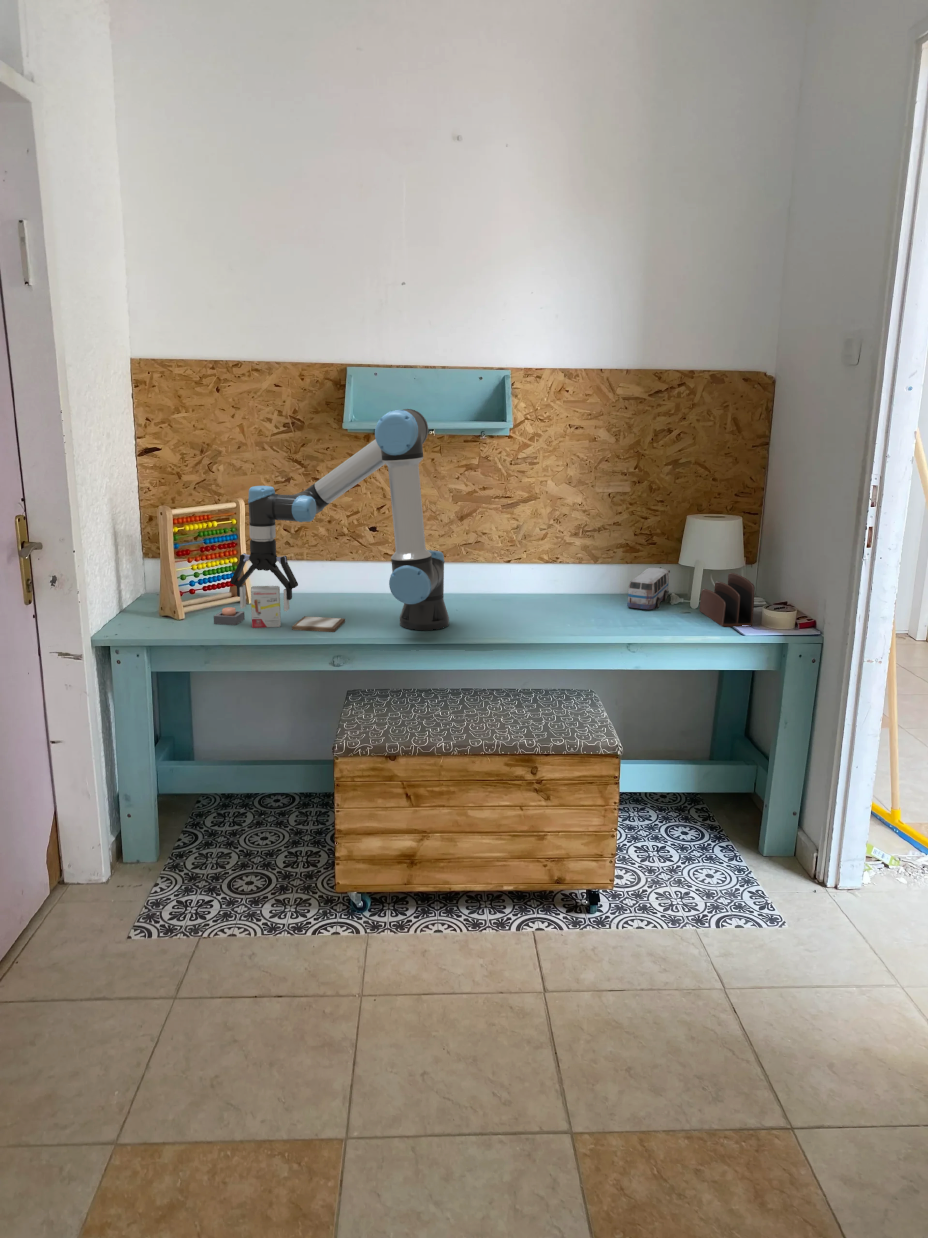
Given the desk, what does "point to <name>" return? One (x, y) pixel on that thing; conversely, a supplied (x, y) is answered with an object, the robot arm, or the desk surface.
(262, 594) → the ink box
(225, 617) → the button base
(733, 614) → the letter holder
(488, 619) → the desk surface
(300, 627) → the board
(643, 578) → the toy bus
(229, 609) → the button
